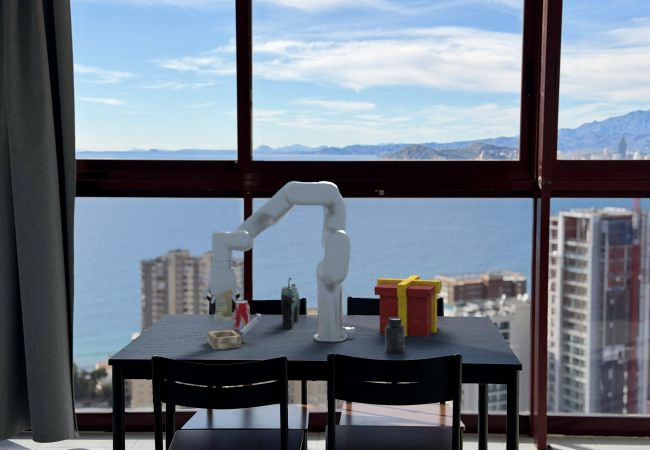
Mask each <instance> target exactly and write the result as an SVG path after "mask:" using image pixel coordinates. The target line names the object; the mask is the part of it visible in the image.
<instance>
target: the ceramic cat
mask: <svg viewBox="0 0 650 450" xmlns="http://www.w3.org/2000/svg"><path fill="white" fill-rule="evenodd" d="M292 279H293V278H292V277H289V278H288V280H287V281H288V283H287V284H288V286H283V287H282V288H281V292H280V293H281V294H280V304H281V315H282V328H283V330H292V329H293V327H294V323H296V322H297V323H298V322H299V315H300V304H301V301H300V295H299V290H298V288H297V287H296V284H295V283H292V284H290V282H291V280H292Z"/></svg>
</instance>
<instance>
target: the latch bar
mask: <svg viewBox="0 0 650 450" xmlns="http://www.w3.org/2000/svg"><path fill="white" fill-rule="evenodd" d="M263 318H264V317H263V315H261V314H260V313H255V315H254V317H253V318H252V319H250V322H249V323H248V324H247V325H246V326H245V327H244V328H243V329H242V330H241V331H240V332H243V336H245V335H246V334H247V332H249V331H250V330H251V329H252V328H253V327H254V326H255V325H256V324H257V323H258V322H259V321H262V320H263Z"/></svg>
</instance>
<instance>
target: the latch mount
mask: <svg viewBox="0 0 650 450" xmlns="http://www.w3.org/2000/svg"><path fill="white" fill-rule="evenodd" d="M234 331H235V332H236V333H237V334H239V335H240V336H241V344H244V343H245V341H244V335H243V332H240V330H239V329H236V330H234Z"/></svg>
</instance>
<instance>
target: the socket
mask: <svg viewBox="0 0 650 450" xmlns="http://www.w3.org/2000/svg"><path fill="white" fill-rule="evenodd" d="M206 342H207V344H208V345H209V346H210V347H211V348H212V349H213V350H216V351H217V350H227V349H237V348H242V343H241V336H240V335H239V334H237V333H236V332H235V331H234V330H233V329H230V330H218V331H207V332H206ZM236 347H237V348H236Z"/></svg>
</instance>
